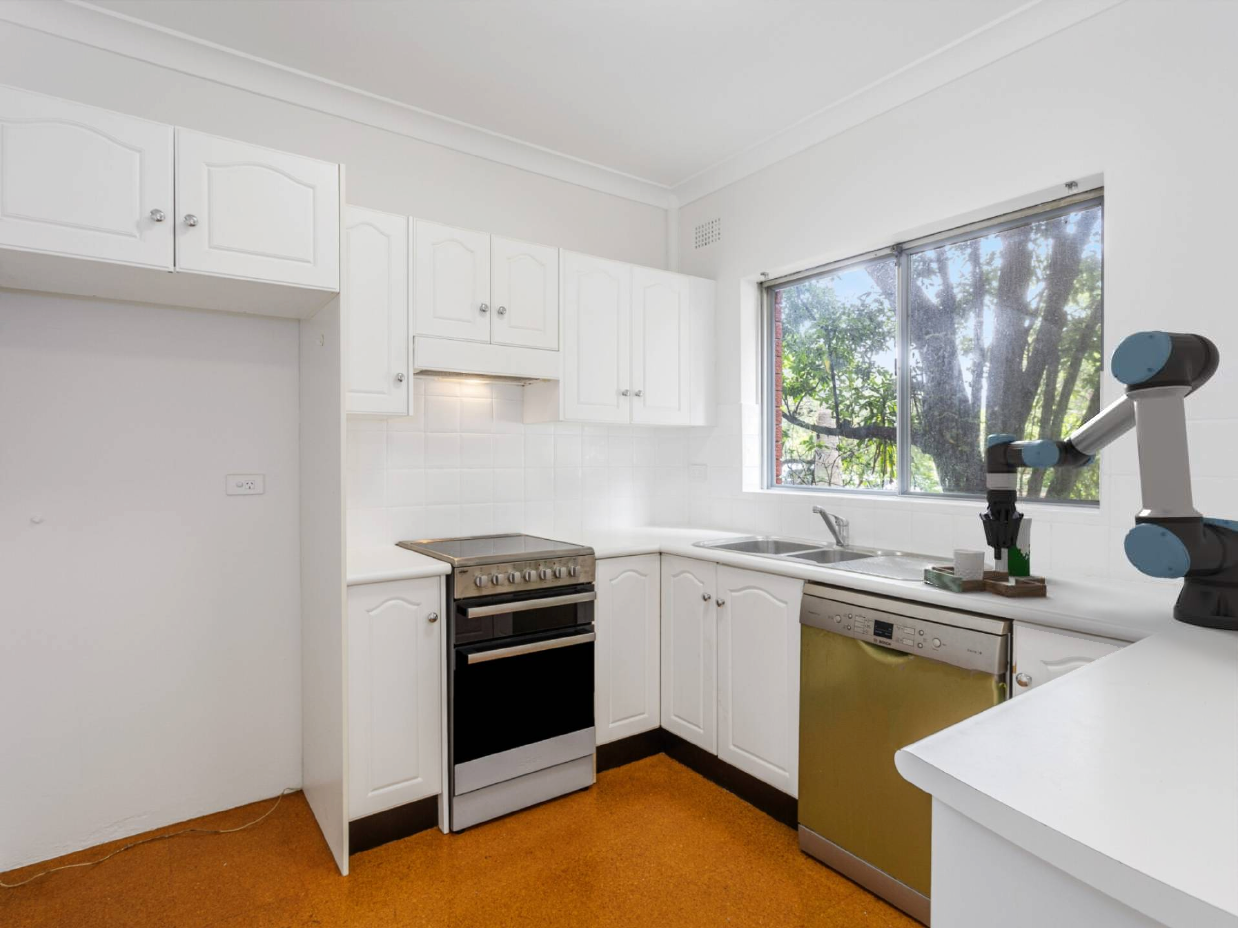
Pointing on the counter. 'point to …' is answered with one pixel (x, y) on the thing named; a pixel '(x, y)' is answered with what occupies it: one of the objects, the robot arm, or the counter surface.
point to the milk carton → (1020, 551)
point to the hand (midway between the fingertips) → (1001, 571)
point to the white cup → (968, 564)
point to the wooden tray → (986, 583)
